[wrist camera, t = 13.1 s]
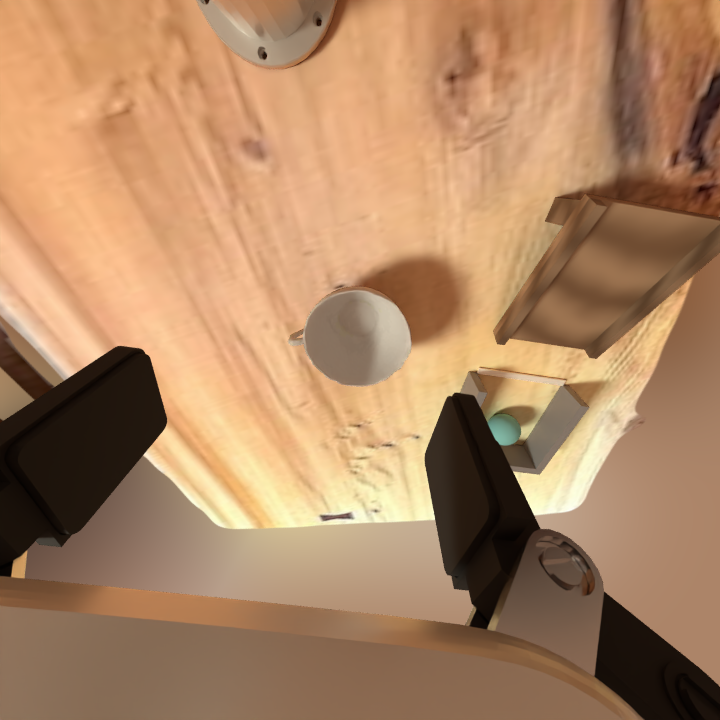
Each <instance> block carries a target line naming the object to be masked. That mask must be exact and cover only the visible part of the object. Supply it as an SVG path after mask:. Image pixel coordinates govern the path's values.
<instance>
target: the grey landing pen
mask: <svg viewBox="0 0 720 720" xmlns="http://www.w3.org/2000/svg"><path fill="white" fill-rule="evenodd" d="M478 374H483V375H490V376H497V377H504V378H511V379H518V380H525V381H532V382H539V383H546V384H553V385H560V386H561V387H560V388H559V390H558V391H557V393H556V395H555V396H554V398H553V399H552V401H551V402H550V404H549V406H548V407H547V409H546V410H545V412H544V413H543V415H542V416H541V418H540V420H539V421H538V423H537V424H536V426H535V427H534V429H533V431H532V432H531V434H530V435H529V437H528V438H527V440H526V441H525V443H524V445H523V446H522V445H514V444H511V445H507V446H504V445H500V446H501V448H502V450H503V452H504V454H505V456H506V458H507V460H508V462H509V464H510V467H511V469H512V471H515V472H523V473H531V474H539V475H540V473H541V472H542V471H543V469H544V468H545V467H546V465H547V464H548V463H549V461H550V460H551V459H552V457H553V456H554V455H555V453H556V452H557V451H558V449H559V448H560V446H561V445H562V444H563V442H564V441H565V440H566V438H567V437H568V436H569V434H570V433H571V432H572V430H573V429H574V428H575V426H576V425H577V424H578V422H579V421H580V419H581V418H582V417H583V415H584V414H585V413H586V411H587V410H588V409H589V406H588V405H587V404H586V403H585V402H584V401H583V400H582V399H581V398H580V397H579V396H578V395H577V394H576V392H575V391H574V390H573V389H572V388H571V387H570V386H567V385H564V383H565V382H566V380H564V379H557V378H551V377H544V376H537V375H530V374H523V373H516V372H509V371H502V370H495V369H488V368H481V367H479V368H478V370H477V373H476V372H469V373H468V375H467V377H466V380H465V382H464V385H463V387H462V389H461V392H460V393H463V394H470V395H474V396H475V398H476V400H477V402H478V404H479V406H480V408H481V406H482V404H483V401H484V399H485V397H486V395H487V391H486V389H485V387H484V385H483V384H482V382H481V380H480V378H479V376H478Z"/></svg>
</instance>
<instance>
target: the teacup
mask: <svg viewBox="0 0 720 720" xmlns="http://www.w3.org/2000/svg"><path fill="white" fill-rule="evenodd" d="M302 334H303V338H297V337H298V336H300V335H302ZM288 343H289V344H290V345H292V346H297V345H302V344H304V348H305V351H306V354H307V356H308V357H309V359H310V360H311V361H312V364H313V365H314V366H315V367H316V368H317V369H318V370H319V371H321V372H322V373H323V374H324V375H325V376H326V377H327V378H329V379H330V380H333V381H337V383H339V384H342V385H347V386H356V387H363V386H370V385H374V384H377V383H379V382H381V381H384V380H386V379H388V378H389V377H390V376H391V375H392V374H393V373H394V372H396V371H397V370H399V369H400V368H401V367H402V366H403V364H404V361H405V360H406V359H407V358H408V355H409V354H410V352H411V345H412V341H411V331H410V327H409V324H408V322H407V320H406V317H405V316H404V315H403V313H402V312H401V310H400V309H399V308H398V306H397V305H396V304H395V303H394V302H393V301H392V300H391V299H390V298H389V297H387V296H386V295H384V294H383V293H381V292H379V291H377V290H375V289H372V288H368V287H362V286H351V287H345V288H341V289H338V290H336V291H334V292H332V293H330V294H329V295H327V296H326V297H324V298H323V299H322V300H321V301H319V303H318V304H317V305H316V306H315V307H314V308H313V310H312V311H311V312H310V314H309V316H308V318H307V320H306V323H305V327H304V329H302V330H300V331H298V332H295V333H293V334H292V335H290V337H289V340H288Z"/></svg>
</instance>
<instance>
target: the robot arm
mask: <svg viewBox="0 0 720 720" xmlns="http://www.w3.org/2000/svg"><path fill="white" fill-rule="evenodd" d="M196 1H197V3H198V6H199V8H200V10H201V11H202V13H203V15H204V16H205V18H206V20H207V22H208V23H209V25H210V26H211V28H212V29H213V30H214V32H215V33H216V34H217V35H218V37H219V38H220V39H221V41H223V42H224V43H225V44H226V45H227V46H228V47H229V48H230V49H231V50H232V51H233V52H234V53H236V54H237V55H238V56H239V57H241V58H242V59H243V60H245V61H247V62H249V63H251V64H253V65H255V66H258V67H262V68H266V69H284V68H288V67H291V66H294V65H296V64H298V63H299V62H301V61H303V60H305V59H306V58H307V57H308V56H309V55H310V54H311V53H312V52H313V51H314V50H315V49H316V48H317V46H318V45H319V43H320V42H321V41H322V39H323V38H324V36H325V34H326V32H327V30H328V27H329V25H330V23H331V21H332V18H333V14H334V11H335V7H336V3H337V0H209V3H208V4H207V0H196ZM318 20H321V21H322V24H321V26H317V25H316V23H317V21H318ZM264 53H266V54H267V58H266V59H265V60H264V59H263V55H264ZM166 424H167V417H166V413H165V410H164V406H163V402H162V399H161V395H160V392H159V388H158V384H157V381H156V377H155V374H154V370H153V366H152V363H151V359H150V357H149V356H148V355H147V354H145V352H144V351H143V350H142V349H139V348H132V347H125V346H117V347H115V348H113V349H112V350H110V351H109V352H107V353H106V354H104V355H103V356H101V357H100V358H98V359H97V360H95V361H94V362H92V363H91V364H89V365H88V366H86V367H85V368H83V369H82V370H80V371H79V372H77V373H75V374H74V375H72V376H71V377H69V378H68V379H66V380H65V381H63V382H62V383H60V384H59V385H57V386H56V387H54V388H53V389H51V390H50V391H48V392H47V393H45V394H44V395H42V396H40V397H39V398H37V399H36V400H34V401H33V402H31V403H30V404H28V405H27V406H25V407H24V408H22V409H21V410H19V411H18V412H16V413H15V414H13V415H12V416H10V417H9V418H7V419H6V420H4V421H2V422H1V423H0V720H720V687H719V686H718V684H716V683H715V682H714V681H713V680H712V679H711V678H710V677H709V676H708V675H707V674H706V673H704V672H703V671H702V670H701V669H700V668H699V667H698V666H696V665H695V664H694V663H693V662H691V661H690V660H689V659H688V658H686V657H685V656H684V655H683V654H681V653H680V652H679V651H678V650H676V649H675V648H674V647H673V646H671V645H670V644H669V643H668V642H666V641H665V640H664V639H663V638H661V637H660V636H659V635H658V634H656V633H655V632H654V631H653V630H651V629H650V628H649V627H648V626H646V625H645V624H644V623H643V622H641V621H640V620H639V619H638V618H636V617H635V616H634V615H633V614H631V613H630V612H629V611H628V610H626V609H625V608H624V607H623V606H622V605H620V604H619V603H618V602H616V601H615V600H614V599H613V598H612V597H610V596H609V595H607V593H605V592H604V588H603V581H602V578H601V576H600V573H599V571H598V569H597V567H596V566H595V564H594V563H593V561H592V560H591V558H590V557H589V556H588V555H587V554H586V552H585V551H584V550H583V549H582V548H581V547H580V546H579V545H577V544H576V543H575V542H574V541H572V540H571V539H570V538H568V537H566V536H564V535H563V534H561V533H559V532H556V531H553V530H550V529H540V527H539V525H538V523H537V521H536V519H535V517H534V514H533V512H532V510H531V508H530V506H529V504H528V502H527V500H526V498H525V496H524V494H523V492H522V489H521V487H520V485H519V483H518V481H517V479H516V477H515V475H514V473H513V471H512V469H511V467H510V464H509V462H508V460H507V458H506V456H505V454H504V452H503V450H502V448H501V446H500V444H499V443H498V441H496V440H495V438H494V436H493V434H492V431H491V429H490V427H489V425H488V423H487V421H486V419H485V417H484V414H483V412H482V410H481V408H480V406H479V404H478V402H477V400H476V398H475V396H474V395H470V394H463V393H454V394H453V396H448V397H447V399H446V401H445V403H444V406H443V409H442V411H441V414H440V416H439V419H438V421H437V424H436V427H435V429H434V432H433V434H432V437H431V439H430V442H429V444H428V447H427V450H426V453H425V467H426V472H427V477H428V483H429V488H430V493H431V499H432V504H433V510H434V515H435V520H436V526H437V531H438V536H439V542H440V547H441V553H442V558H443V563H444V568H445V571H446V573H447V575H451V576H452V581H453V586H454V589H459V590H469V593H470V598H471V602H472V604H473V605H474V607H473V609H472V611H471V613H470V616H469V618H468V620H467V622H466V624H465V625H459V624H451V623H443V622H436V621H428V620H420V619H412V618H404V617H396V616H388V615H379V614H369V613H361V612H351V611H342V610H332V609H323V608H313V607H304V606H294V605H285V604H276V603H266V602H257V601H246V600H236V599H227V598H217V597H208V596H198V595H187V594H178V593H167V592H158V591H148V590H137V589H128V588H118V587H107V586H97V585H86V584H76V583H66V582H55V581H45V580H35V579H25V578H24V577H25V567H26V556H27V549H28V548H29V547H30V546H31V545H32V544H33V543H34V542H35V541H36V542H37V543H38V544H39V545H47V546H56V547H57V546H58V547H62V546H63V545H64V543H65V542H66V541H67V540H68V539H69V538H70V536H71V535H72V534H75V533H77V532H79V531H80V530H81V529H82V528H83V527H84V526H85V525H86V523H87V522H88V521H89V520H90V518H91V517H92V516H93V515H94V514H95V512H96V511H97V510H98V509H99V508H100V506H101V505H102V504H103V503H104V502H105V500H106V499H107V498H108V497H109V496H110V494H111V493H112V492H113V491H114V490H115V488H116V487H117V486H118V485H119V483H120V482H121V481H122V480H123V479H124V477H125V476H126V475H127V474H128V473H129V471H130V470H131V469H132V468H133V467H134V465H135V464H136V463H137V462H138V461H139V459H140V458H141V457H142V456H143V455H144V453H145V452H146V451H147V450H148V449H149V447H150V446H151V445H152V444H153V442H154V441H155V440H156V439H157V438H158V436H159V435H160V434H161V433H162V432H163V430H164V429H165V427H166Z"/></svg>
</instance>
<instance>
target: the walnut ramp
mask: <svg viewBox="0 0 720 720" xmlns="http://www.w3.org/2000/svg"><path fill="white" fill-rule="evenodd" d="M545 221H546V222H550V223H554V224H558V225H562V226H563V227H562V229H561V230H560V232H559V233H558V235H557V236H556V238H555V239H554V241H553V242H552V244H551V245H550V247H549V248H548V250H547V251H546V253H545V254H544V256H543V257H542V259H541V260H540V262H539V263H538V265H537V266H536V268H535V269H534V271H533V272H532V274H531V275H530V277H529V278H528V280H527V281H526V283H525V284H524V286H523V287H522V289H521V290H520V292H519V293H518V295H517V296H516V298H515V299H514V301H513V302H512V304H511V305H510V307H509V308H508V310H507V311H506V313H505V314H504V316H503V317H502V319H501V320H500V322H499V323H498V325H497V326H496V328H495V329H494V331H493V332H494V335H495V339H496V342H497V344H500V345H505V344H506V342H507V341H508V340H509V338H510V339H517V340H524V341H531V342H537V343H544V344H551V345H557V346H564V347H571V348H577V349H584V350H585V351H586V353H587V355H588V356H589V358H595V359H597V358H598V357H599V356H600V355H601V354H602V353H604V352H605V351H606V350H607V349H608V348H609V347H611V346H612V345H613V344H614V343H615V342H616V341H618V340H619V339H620V338H621V337H622V336H623V335H625V334H626V333H627V332H628V331H629V330H630V329H631V328H633V327H634V326H635V325H636V324H637V323H638V322H640V321H641V320H642V319H643V318H644V317H645V316H647V315H648V314H649V313H650V312H651V311H652V310H654V309H655V308H656V307H657V306H658V305H659V304H661V303H662V302H663V301H664V300H665V299H666V298H668V297H669V296H670V295H671V294H672V293H673V292H675V291H676V290H677V289H678V288H679V287H680V286H682V285H683V284H684V283H685V282H686V281H687V280H689V279H690V278H691V277H692V276H693V275H694V274H696V273H697V272H698V271H699V270H700V269H701V268H703V267H704V266H705V265H706V264H707V263H708V262H710V261H711V260H712V259H713V258H714V257H715V256H717V255H718V254H719V253H720V217H715V216H710V215H704V214H698V213H693V212H687V211H681V210H675V209H670V208H664V207H658V206H653V205H647V204H641V203H635V202H630V201H624V200H618V199H613V198H607V197H601V196H596V195H590V194H584V196H583V197H582V199H581V200H575V199H565V198H556V197H555V200H554V202H553V204H552V206H551V209H550V211H549V213H548V216H547V218H546V220H545Z"/></svg>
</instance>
